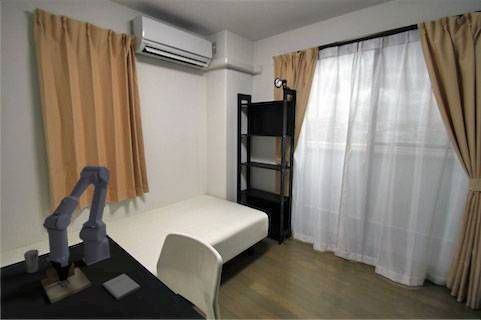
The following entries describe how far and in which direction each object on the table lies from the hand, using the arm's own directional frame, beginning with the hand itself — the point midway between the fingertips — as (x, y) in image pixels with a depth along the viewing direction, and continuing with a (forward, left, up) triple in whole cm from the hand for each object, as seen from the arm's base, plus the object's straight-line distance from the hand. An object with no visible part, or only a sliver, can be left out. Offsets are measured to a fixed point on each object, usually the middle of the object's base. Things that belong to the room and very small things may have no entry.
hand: (61, 276), depth 89 cm
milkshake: (+6, -16, -2) cm, 18 cm away
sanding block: (0, 0, -1) cm, 1 cm away
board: (0, +4, -2) cm, 5 cm away
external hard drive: (-14, +22, -3) cm, 26 cm away
